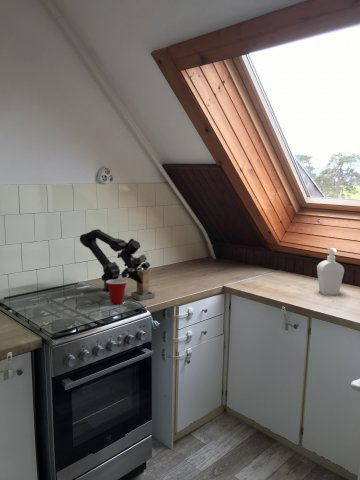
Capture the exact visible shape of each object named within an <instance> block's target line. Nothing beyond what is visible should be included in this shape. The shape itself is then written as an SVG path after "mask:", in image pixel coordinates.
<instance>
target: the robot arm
mask: <svg viewBox="0 0 360 480" xmlns="http://www.w3.org/2000/svg"><path fill="white" fill-rule="evenodd" d="M97 239H98V240H100V241H101V242H103V243H105V244H107V245H108V246H109V248H110V249H111V250H113V252H116V253H117V252H118V253H117V257H116V258H117V259H121V260H122V261H123V262H124V264H123V266H124V267H125V268H124V269H123V270H122V272H121V270H120V266H119V265H118V264H117V263H116V262H115V261H113V262H111V260H109V259H108V257H107V256H106V254H105V253H104V252H103V250H102V249H101V247H99V245H98V244H97V243H98V242H97ZM79 242H80V243H81V244H82V246H83V247H86V248H87V249H89V250H90V252H91V253H92V255H93V256H94V257H95V258H96V260H97V261H98V262H99V264H100V265H101V266H102V272H103V274H102V275H101V280H102V281H103V288H102V290H104V291H106V292H108V293H109V289H108V285H107V283H106V281H108V280H114V279H119V277H120V276H121V277H122V279H125V278H128V279H131V280H133V281H134V282H136V283H137V282H138V283H140V284H142V281H141V279H140V278H139V276H138V274H137V270H140V269H144V270H148V269H149V268H150V267H151V264H150V262H146V260H147V256H146V255H145V254H141V255H140V256H139V257H137V256H135V257H134V256H133V255H134V254H136V252H137V251H138V250H139V249H140V248H141V244H140V242H138V241H137V240H136V239H134V238H130V239H129V240H128V242H126V241H125V240H124V239H121V238H115V237H113V236H111V235H110V234H107V233H105V232H104V231H102V230H101V229H98V228H97V229H96V228H95V229H92V230H91V231H89V232H87V233H83V234H81V235H80V236H79Z"/></svg>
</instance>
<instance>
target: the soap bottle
mask: <svg viewBox="0 0 360 480" xmlns="http://www.w3.org/2000/svg"><path fill="white" fill-rule="evenodd" d="M326 250H327V251H329V254H327V257H326V259H325V260H322V261H321V262H319V263H318V264H317V265H316V272H317V280H318V281H317V282H318V290H319V292H320V294H322V295H324V296H331V295H332V296H333V295H335V296H336V295H337V296H338V295H339V294H340V289H341V286H342V282H343V278H344V273H345V267H344V266H343V265H342V264H340V263H339V262H338V261H337V262H336V256H335V255H334V254H336V253H338V251H337V249H336V248H335V247H328V248H326Z"/></svg>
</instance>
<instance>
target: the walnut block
mask: <svg viewBox="0 0 360 480" xmlns="http://www.w3.org/2000/svg"><path fill="white" fill-rule="evenodd" d="M137 274H138V276H139V278H140V279H141V281H142V284H140V283H138V282H136V291H137V294H138V295H146V294H149V291H150V290H149V281H150V280H149V270H148V269H147V270H144V269H140V270H137Z"/></svg>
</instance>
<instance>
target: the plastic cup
mask: <svg viewBox="0 0 360 480" xmlns="http://www.w3.org/2000/svg"><path fill="white" fill-rule="evenodd" d="M106 283H107V285H108V289H109V292H108V294H109V298H110V302H111V304H112V305H117V306H118V305H122V304H123V302H124V298H125V292H126V291H125V290H126V285H127V283H128V280H126V279H123V278H122V279H119V278H118V279H114V280H108V281H106Z"/></svg>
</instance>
